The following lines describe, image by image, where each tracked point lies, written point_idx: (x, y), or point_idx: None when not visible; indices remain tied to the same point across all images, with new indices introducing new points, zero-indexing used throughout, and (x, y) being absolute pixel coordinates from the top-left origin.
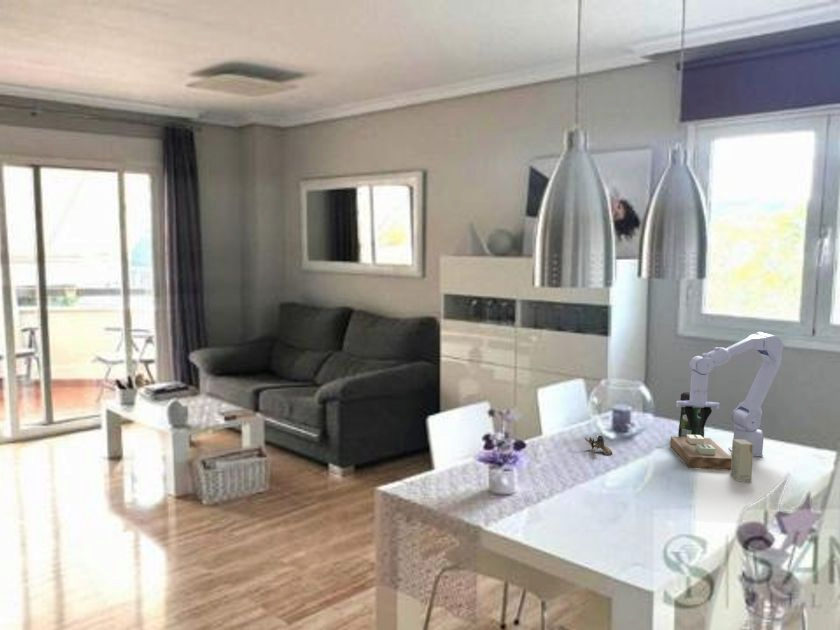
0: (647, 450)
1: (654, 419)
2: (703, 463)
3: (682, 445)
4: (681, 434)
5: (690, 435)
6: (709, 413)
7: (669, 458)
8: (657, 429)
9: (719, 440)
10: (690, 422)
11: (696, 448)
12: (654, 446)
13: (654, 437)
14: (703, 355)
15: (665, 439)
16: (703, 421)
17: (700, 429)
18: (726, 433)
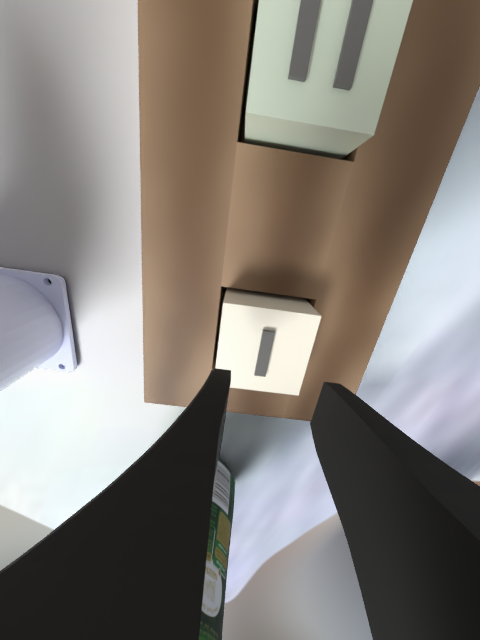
0: (456, 344)
1: (226, 602)
2: None
3: (385, 262)
4: (230, 485)
5: (285, 375)
6: (24, 588)
7: (437, 221)
8: (262, 543)
9: (87, 460)
10: (381, 418)
11: (355, 144)
12: (386, 393)
13: (318, 482)
14: None
15: (289, 465)
16: (221, 413)
17: None
18: (43, 518)
